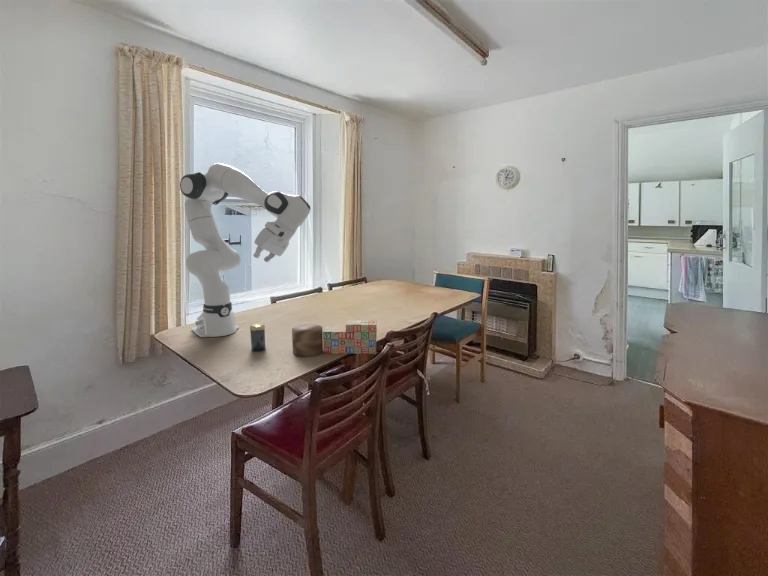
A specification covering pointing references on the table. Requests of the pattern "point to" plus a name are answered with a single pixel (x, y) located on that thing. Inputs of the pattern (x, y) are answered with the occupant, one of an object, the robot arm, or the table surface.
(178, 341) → the table surface
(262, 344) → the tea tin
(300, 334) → the brown wooden cylinder
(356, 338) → the stack of blocks
